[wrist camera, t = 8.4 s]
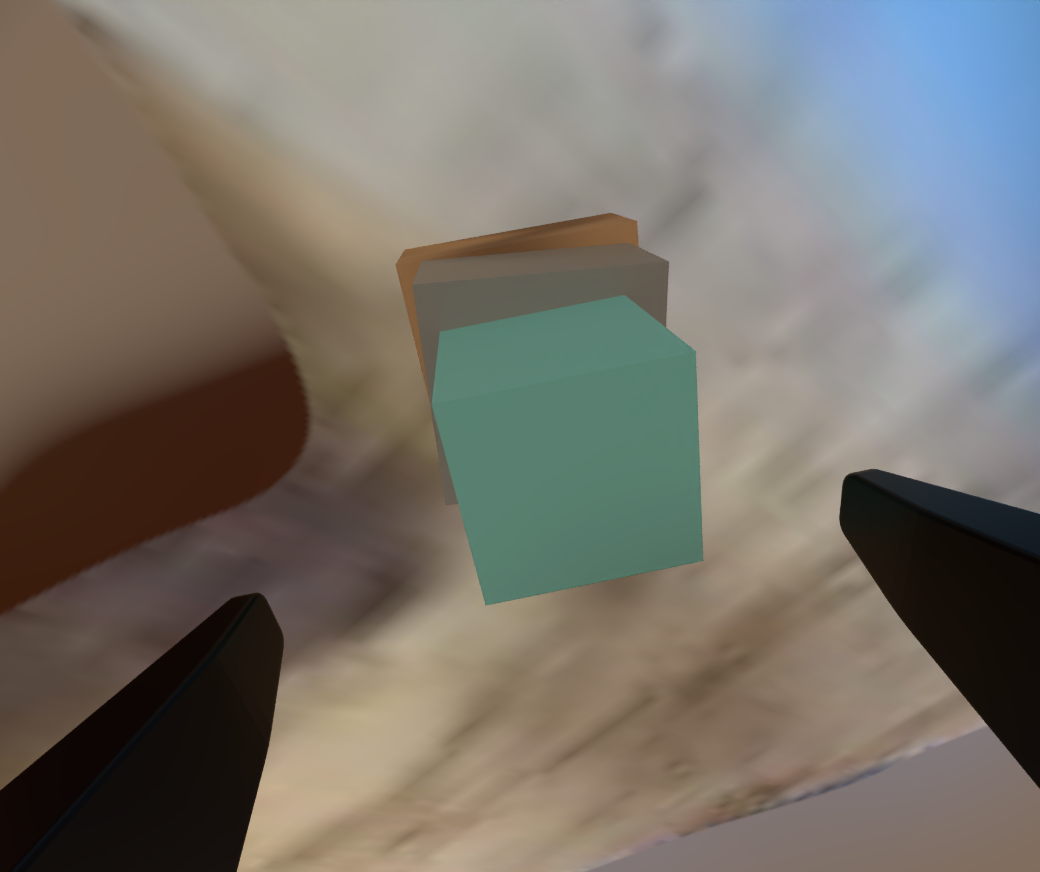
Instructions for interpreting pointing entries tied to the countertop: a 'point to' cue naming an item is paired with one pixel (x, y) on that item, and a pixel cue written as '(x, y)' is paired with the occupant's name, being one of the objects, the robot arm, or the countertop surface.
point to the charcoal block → (527, 294)
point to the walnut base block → (513, 250)
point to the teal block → (571, 446)
